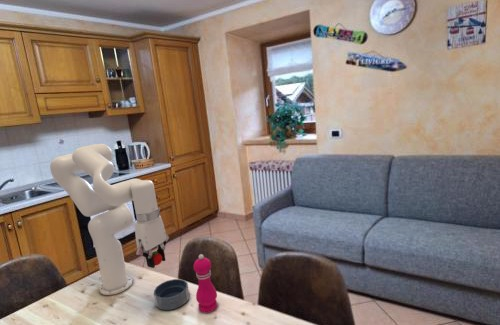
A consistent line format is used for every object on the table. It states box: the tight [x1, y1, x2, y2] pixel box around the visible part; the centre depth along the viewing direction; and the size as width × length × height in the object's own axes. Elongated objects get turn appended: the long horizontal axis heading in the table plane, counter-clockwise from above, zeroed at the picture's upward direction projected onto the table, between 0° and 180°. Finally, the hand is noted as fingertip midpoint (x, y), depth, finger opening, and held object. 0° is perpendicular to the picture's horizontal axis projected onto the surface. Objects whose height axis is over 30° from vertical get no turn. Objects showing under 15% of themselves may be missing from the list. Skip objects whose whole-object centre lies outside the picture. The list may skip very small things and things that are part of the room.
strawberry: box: [152, 250, 163, 266], centre depth 113 cm, size 4×4×5 cm
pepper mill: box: [193, 253, 218, 314], centre depth 109 cm, size 7×7×20 cm
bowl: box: [153, 278, 190, 311], centre depth 116 cm, size 12×12×5 cm
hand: (156, 263), depth 113 cm, fingers closed on strawberry, 4 cm apart
